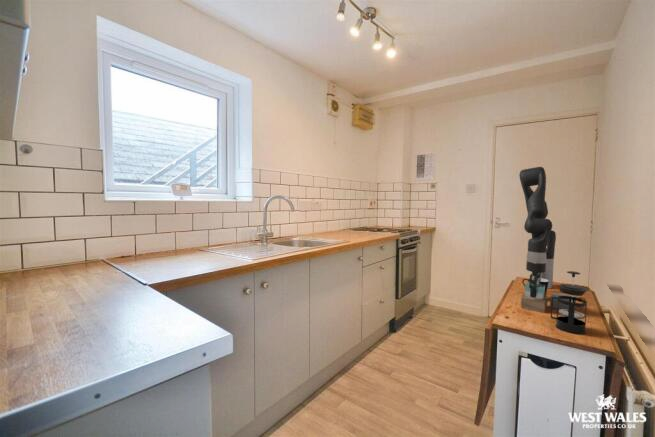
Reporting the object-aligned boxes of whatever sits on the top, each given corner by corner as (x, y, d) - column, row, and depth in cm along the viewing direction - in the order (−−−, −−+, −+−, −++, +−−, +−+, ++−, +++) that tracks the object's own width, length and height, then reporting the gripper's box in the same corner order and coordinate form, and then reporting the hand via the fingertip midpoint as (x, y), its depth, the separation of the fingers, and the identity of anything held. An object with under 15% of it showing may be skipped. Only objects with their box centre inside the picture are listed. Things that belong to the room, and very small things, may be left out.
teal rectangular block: (526, 294, 146) (527, 282, 145) (544, 297, 141) (545, 285, 141) (524, 296, 142) (525, 284, 142) (542, 300, 137) (543, 287, 137)
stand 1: (524, 302, 148) (525, 293, 148) (546, 307, 142) (547, 297, 142) (520, 307, 142) (521, 297, 141) (544, 312, 136) (544, 302, 135)
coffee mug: (551, 301, 151) (553, 281, 150) (534, 301, 151) (535, 281, 150) (536, 294, 162) (537, 275, 161) (520, 293, 162) (521, 275, 162)
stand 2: (552, 302, 149) (552, 292, 149) (575, 307, 143) (576, 296, 142) (549, 307, 142) (550, 297, 142) (574, 312, 136) (575, 301, 136)
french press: (587, 328, 119) (591, 271, 118) (588, 337, 112) (592, 276, 110) (551, 321, 127) (553, 267, 125) (549, 328, 119) (552, 271, 118)
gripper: (529, 257, 148) (527, 289, 149) (523, 262, 138) (522, 296, 139) (548, 259, 143) (546, 293, 144) (543, 264, 133) (542, 300, 134)
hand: (534, 294), depth 141 cm, fingers open, 8 cm apart
